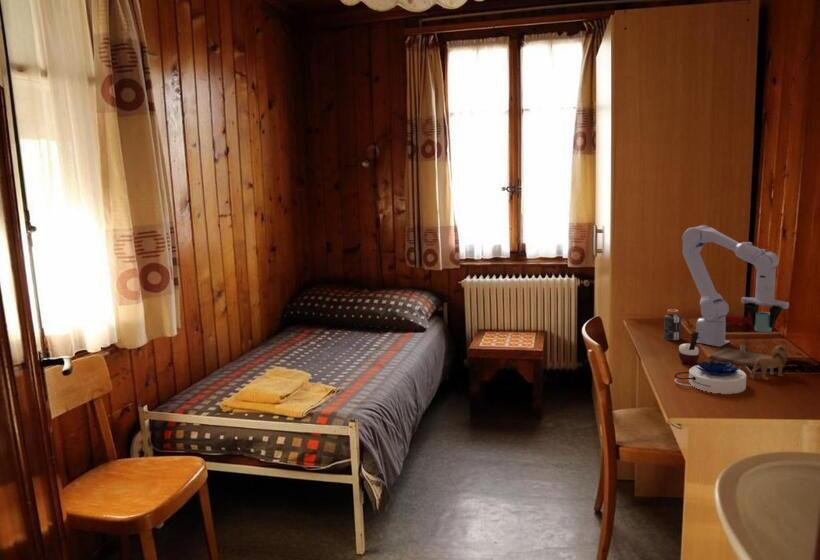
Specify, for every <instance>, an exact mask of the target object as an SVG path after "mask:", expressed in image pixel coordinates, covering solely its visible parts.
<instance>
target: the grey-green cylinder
mask: <svg viewBox="0 0 820 560" xmlns="http://www.w3.org/2000/svg"><path fill="white" fill-rule="evenodd" d="M772 330H773V328H770V311H769V312H768V311H758V312H756V313H755V325H754V331H755V332H758V333H759V332H760V333H771V332H772Z"/></svg>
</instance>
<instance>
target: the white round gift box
mask: <svg viewBox="0 0 820 560" xmlns="http://www.w3.org/2000/svg"><path fill="white" fill-rule="evenodd" d="M697 363H698V364H697V365H694V366H692V367H691V368H689V370H688V371H682V372H677V373H676V374H674V377H675V379H674V382H675V383H676V384H678V385H682V386H689V387H692V386H693V387H692V388H694V387H695V388H694V389H696V388H697V390H698V389H700V390H699V391H701V390H703V391H702V392H705V391H707V392H706V393H710V392H712V393H711V394H717V393H721V394H720V395H731V394H733V393H734V394H739V393H742V392H744V391H746V389H747V373H745V371H743V370H741V368H742V367H741V366H737V367H736V365H735V364H731V362H726V361H725V362H722V361H721V360H718V362H716V360H715V359H711V360H709V362H708V361H705V360H704V361H703V360H702V361H701V362H700V361H697ZM682 374H688V377H684V378H682V377H678V375H682ZM677 380H686V381H688V384H686V383H681V382H679V381H677ZM689 383H690V384H691V385H690V384H689Z"/></svg>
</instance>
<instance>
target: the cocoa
mask: <svg viewBox="0 0 820 560" xmlns="http://www.w3.org/2000/svg"><path fill="white" fill-rule="evenodd" d="M692 333H693V334H692V337H691V340H690V343H681V344H680V345H679V346H678V355H679V360H680V361H681V362H683V363H684V364H685V365H686V364H687V365H694V364H696V363H698V362H699V358H700V349H699V347H698V346H696V345H697V338H698V334H699V333H698V332H696V331H695V332H692Z"/></svg>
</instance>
